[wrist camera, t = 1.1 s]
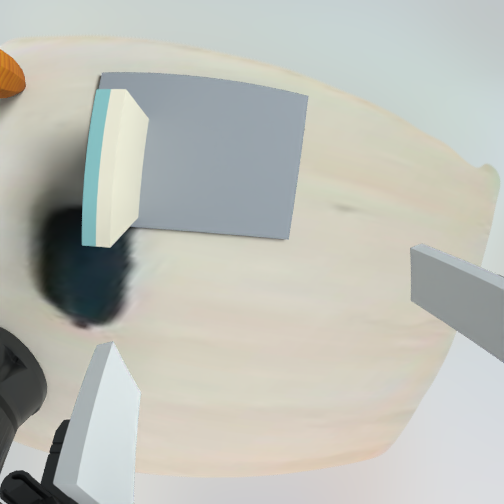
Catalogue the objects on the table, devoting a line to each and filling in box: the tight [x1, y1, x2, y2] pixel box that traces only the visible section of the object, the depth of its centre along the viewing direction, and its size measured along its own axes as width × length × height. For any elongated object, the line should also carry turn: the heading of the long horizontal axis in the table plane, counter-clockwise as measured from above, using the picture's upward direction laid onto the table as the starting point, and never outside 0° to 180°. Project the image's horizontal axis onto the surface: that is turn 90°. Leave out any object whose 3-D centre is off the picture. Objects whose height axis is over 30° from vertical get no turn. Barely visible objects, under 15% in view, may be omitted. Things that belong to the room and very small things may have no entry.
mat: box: [99, 72, 308, 240], centre depth 29 cm, size 22×16×1 cm
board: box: [82, 89, 149, 247], centre depth 22 cm, size 2×10×12 cm, turn 172°
